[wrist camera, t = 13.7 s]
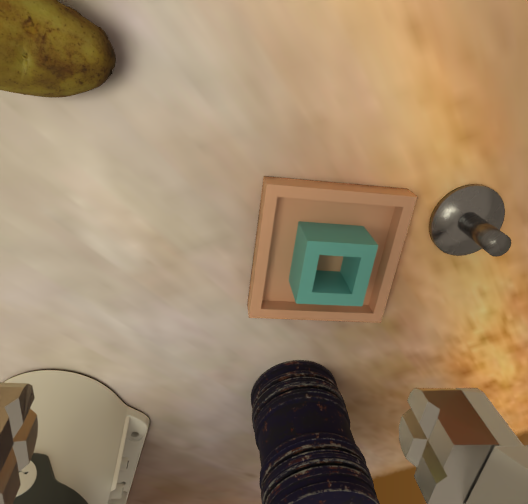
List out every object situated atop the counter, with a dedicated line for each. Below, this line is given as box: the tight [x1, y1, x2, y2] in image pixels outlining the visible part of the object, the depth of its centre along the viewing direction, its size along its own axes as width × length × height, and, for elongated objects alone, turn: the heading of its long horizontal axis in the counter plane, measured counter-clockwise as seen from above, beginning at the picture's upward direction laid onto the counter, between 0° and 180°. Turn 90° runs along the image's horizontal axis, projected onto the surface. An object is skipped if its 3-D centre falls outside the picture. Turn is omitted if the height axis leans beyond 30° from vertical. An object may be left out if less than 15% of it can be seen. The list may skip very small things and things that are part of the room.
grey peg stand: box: [429, 184, 511, 256], centre depth 39 cm, size 7×7×6 cm
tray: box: [247, 176, 417, 323], centre depth 41 cm, size 13×13×2 cm
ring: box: [289, 221, 378, 306], centre depth 39 cm, size 6×6×4 cm
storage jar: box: [251, 360, 379, 504], centre depth 43 cm, size 10×10×15 cm
